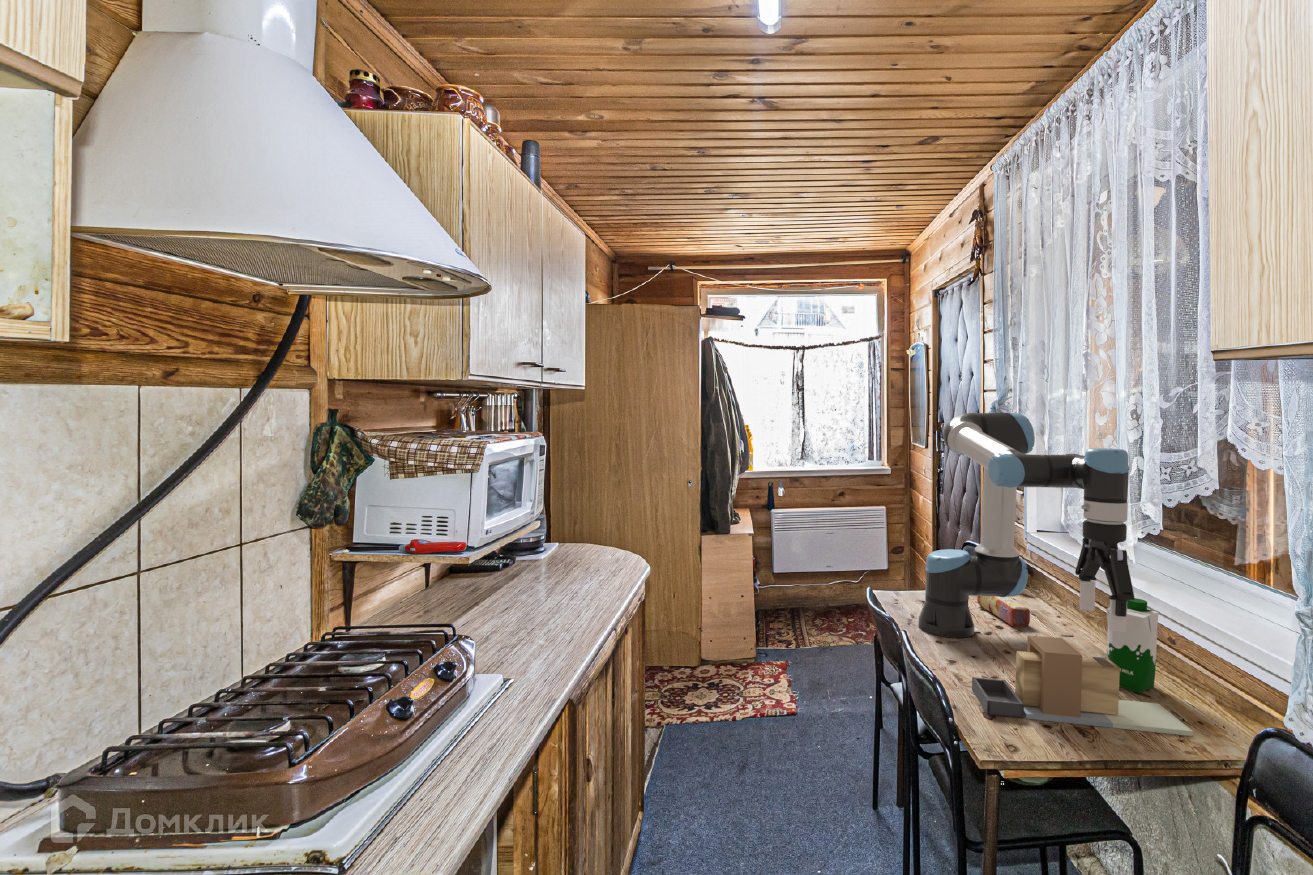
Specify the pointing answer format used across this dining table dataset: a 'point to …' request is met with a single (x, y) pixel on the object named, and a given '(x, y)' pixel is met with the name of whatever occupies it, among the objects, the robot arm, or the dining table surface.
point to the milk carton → (1135, 647)
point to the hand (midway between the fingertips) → (1101, 620)
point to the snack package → (1006, 610)
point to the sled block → (1095, 686)
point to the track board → (1065, 695)
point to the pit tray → (997, 697)
